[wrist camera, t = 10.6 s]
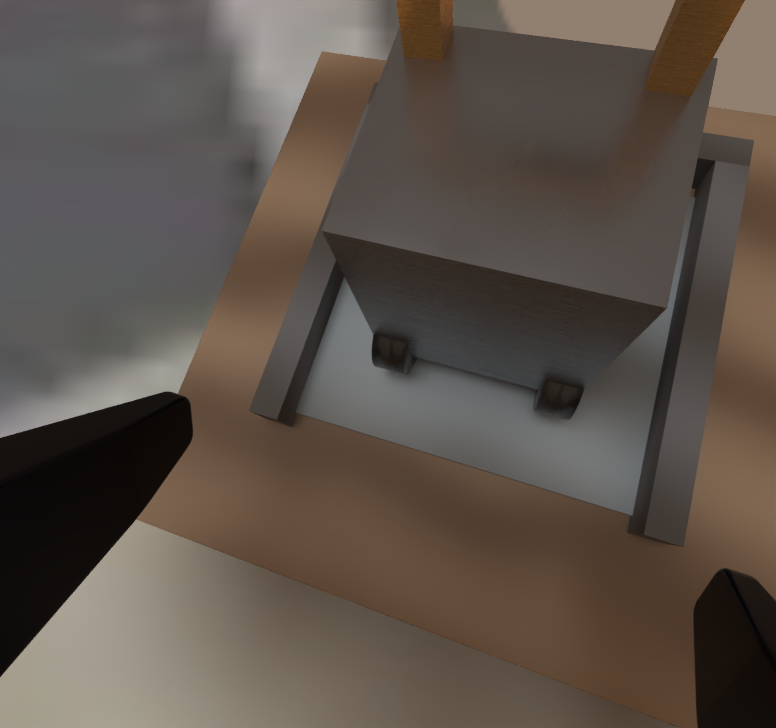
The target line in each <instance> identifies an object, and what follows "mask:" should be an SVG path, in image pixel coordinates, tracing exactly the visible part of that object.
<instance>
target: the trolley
mask: <svg viewBox="0 0 776 728" xmlns="http://www.w3.org/2000/svg"><path fill="white" fill-rule="evenodd" d="M744 1H745V0H676V1H675V3H674V6H673V8H672V10H671V13H670V15H669V17H668V20H667V22H666V25H665V27H664V29H663V32H662V34H661V37H660V39H659V42H658V44H657V46H656V49H655V51H652V50H645V49H637V48H628V47H621V46H613V45H604V44H597V43H588V42H581V41H573V40H565V39H564V40H563V39H557V38H549V37H540V36H533V35H525V34H517V33H509V32H501V31H493V30H485V29H477V28H469V27H461V26H453V0H397V8H398V16H399V24H400V28H399V30H398V33H397V36H396V38H395V41H394V43H393V46H392V49H391V51H390V54H389V56H388V59H387V62H386V64H385V67H384V69H383V72H382V75H381V77H380V80H379V82H378V85H377V88H376V90H375V93H374V95H373V98H372V101H371V103H370V106H369V108H368V111H367V114H366V116H365V119H364V122H363V124H362V127H361V129H360V132H359V135H358V137H357V140H356V142H355V145H354V148H353V150H352V153H351V155H350V158H349V161H348V163H347V166H346V168H345V171H344V174H343V176H342V179H341V181H340V184H339V187H338V189H337V192H336V194H335V197H334V200H333V202H332V205H331V207H330V210H329V213H328V215H327V218H326V220H325V223H324V226H323V228H322V233H323V235H324V237H325V239H326V241H327V243H328V245H329V247H330V249H331V251H332V253H333V255H334V257H335V259H336V261H337V263H338V265H339V267H340V269H341V271H342V273H343V275H344V277H345V279H346V281H347V283H348V285H349V287H350V289H351V291H352V293H353V295H354V297H355V299H356V301H357V303H358V305H359V307H360V309H361V311H362V313H363V315H364V317H365V319H366V321H367V323H368V325H369V327H370V329H371V331H372V333H373V340H372V362H373V365H374V366H375V367H379V368H382V369H386V370H389V371H393V372H397V373H400V374H404V375H407V374H409V372H410V371H411V369H412V367H413V366H414V363H415V361H416V359H417V357H418V358H421V359H425V360H429V361H433V362H436V363H440V364H444V365H447V366H451V367H455V368H459V369H462V370H466V371H470V372H473V373H477V374H481V375H485V376H488V377H492V378H496V379H499V380H503V381H507V382H511V383H514V384H518V385H522V386H525V387H529V388H533V389H536V392H535V398H534V404H533V411H537V412H540V413H544V414H548V415H551V416H555V417H558V418H562V419H566V420H570V419H571V418H572V416H573V415H574V413H575V411H576V409H577V407H578V404H579V402H580V400H581V397H582V394H583V392H584V390H585V389H586V388H587V387H588V386H589V385H590V384H591V383H592V382H593V381H594V380H595V379H596V378H597V377H598V376H599V375H600V374H601V373H602V372H603V371H604V370H605V369H606V368H607V367H608V366H609V365H610V364H611V363H612V362H613V361H614V360H615V359H616V358H617V357H618V356H619V355H620V354H621V353H622V352H623V351H624V350H625V349H626V348H627V347H628V346H629V345H630V344H631V343H632V342H633V341H634V340H635V339H636V338H637V337H638V336H639V335H641V334H642V333H643V332H644V331H645V330H646V329H647V328H648V327H649V326H650V325H651V324H652V323H653V322H654V321H655V320H656V319H657V318H658V317H659V316H660V315H661V314H662V313H663V312H664V311H665V310H666V309H667V307H668V302H669V297H670V292H671V287H672V282H673V277H674V272H675V267H676V262H677V257H678V252H679V247H680V242H681V238H682V233H683V228H684V223H685V218H686V213H687V208H688V203H689V198H690V193H691V188H692V183H693V178H694V174H695V169H696V164H697V159H698V154H699V149H700V144H701V139H702V134H703V129H704V124H705V119H706V114H707V109H708V105H709V100H710V95H711V90H712V85H713V80H714V74H715V70H716V64H717V60H718V59H717V58H713V57H714V55H715V53H716V51H717V50H718V48H719V46H720V44H721V42H722V41H723V39H724V37H725V35H726V33H727V32H728V30H729V28H730V26H731V24H732V23H733V21H734V19H735V17H736V15H737V13H738V12H739V10H740V8H741V6H742V4H743V3H744Z"/></svg>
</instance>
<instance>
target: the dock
mask: <svg viewBox="0 0 776 728" xmlns="http://www.w3.org/2000/svg"><path fill="white" fill-rule="evenodd" d="M386 62H387V61H385V60H378V59H371V58H364V57H357V56H350V55H343V54H336V53H329V52H322V53H321V55H320V57H319V60H318V62H317V64H316V67H315V69H314V72H313V74H312V76H311V79H310V81H309V83H308V86H307V88H306V91H305V93H304V95H303V98H302V100H301V103H300V105H299V107H298V110H297V112H296V114H295V117H294V119H293V122H292V124H291V126H290V129H289V131H288V133H287V136H286V138H285V141H284V143H283V145H282V148H281V150H280V152H279V155H278V157H277V160H276V162H275V164H274V167H273V169H272V171H271V174H270V176H269V179H268V181H267V183H266V186H265V188H264V190H263V193H262V195H261V198H260V200H259V202H258V205H257V207H256V210H255V212H254V214H253V217H252V219H251V221H250V224H249V226H248V229H247V231H246V233H245V236H244V238H243V240H242V243H241V245H240V248H239V250H238V252H237V255H236V257H235V259H234V262H233V264H232V267H231V269H230V271H229V274H228V276H227V278H226V281H225V283H224V286H223V288H222V290H221V293H220V295H219V297H218V300H217V302H216V305H215V307H214V309H213V312H212V314H211V317H210V319H209V321H208V324H207V326H206V328H205V331H204V333H203V336H202V338H201V340H200V343H199V345H198V347H197V350H196V352H195V355H194V357H193V359H192V362H191V364H190V366H189V369H188V371H187V374H186V376H185V378H184V381H183V383H182V385H181V388H180V390H179V393H178V394H179V395H182V396H185V397H187V398H188V399H189V401H190V403H191V412H192V423H193V437H192V441H191V443H190V445H189V447H188V448H187V449H186V451H185V452H184V454H183V455H182V457H181V458H180V459H179V461H178V462H177V464H176V465H175V467H174V468H173V469H172V471H171V472H170V474H169V475H168V477H167V478H166V479H165V481H164V482H163V484H162V485H161V487H160V488H159V489H158V491H157V492H156V494H155V495H154V497H153V498H152V499H151V501H150V502H149V503H148V505H147V506H146V507H145V509H144V510H143V511H142V513H141V514H140V515H139V516H138V518H137V520H140V521H142V522H145V523H147V524H150V525H153V526H155V527H158V528H160V529H163V530H166V531H168V532H171V533H173V534H176V535H179V536H181V537H184V538H187V539H189V540H192V541H194V542H197V543H200V544H202V545H205V546H207V547H210V548H213V549H215V550H218V551H220V552H223V553H226V554H228V555H231V556H234V557H236V558H239V559H241V560H244V561H247V562H249V563H252V564H254V565H257V566H260V567H262V568H265V569H267V570H270V571H273V572H275V573H278V574H280V575H283V576H286V577H288V578H291V579H294V580H296V581H299V582H301V583H304V584H307V585H309V586H312V587H314V588H317V589H320V590H322V591H325V592H327V593H330V594H333V595H335V596H338V597H341V598H343V599H346V600H348V601H351V602H354V603H356V604H359V605H361V606H364V607H367V608H369V609H372V610H374V611H377V612H380V613H382V614H385V615H388V616H390V617H393V618H395V619H398V620H401V621H403V622H406V623H408V624H411V625H414V626H416V627H419V628H421V629H424V630H427V631H429V632H432V633H434V634H437V635H440V636H442V637H445V638H448V639H450V640H453V641H455V642H458V643H461V644H463V645H466V646H468V647H471V648H474V649H476V650H479V651H481V652H484V653H487V654H489V655H492V656H495V657H497V658H500V659H502V660H505V661H508V662H510V663H513V664H515V665H518V666H521V667H523V668H526V669H528V670H531V671H534V672H536V673H539V674H541V675H544V676H547V677H549V678H552V679H555V680H557V681H560V682H562V683H565V684H568V685H570V686H573V687H575V688H578V689H581V690H583V691H586V692H588V693H591V694H594V695H596V696H599V697H602V698H604V699H607V700H609V701H612V702H615V703H617V704H620V705H622V706H625V707H628V708H630V709H633V710H635V711H638V712H641V713H643V714H646V715H649V716H651V717H654V718H656V719H659V720H662V721H664V722H667V723H669V724H672V725H675V726H677V727H680V728H698V727H697V715H696V694H695V662H694V630H693V612H694V607H695V604H696V601H697V600H698V598H699V597H700V595H701V594H702V592H703V591H704V589H705V588H706V586H707V585H708V584H709V582H710V581H711V579H712V578H713V576H714V575H715V573H716V572H717V571H718V570H720V569H722V568H728V569H732V570H735V571H738V572H741V573H744V574H747V575H750V576H752V577H754V578H755V579H757V580H758V581H759V582H760V583H761V585H762V586H763V587H764V588H765V589H766V590H767V591H768V592H769V593H770V595H771V596H772V597H773V598H774V599H775V600H776V116H770V115H763V114H756V113H749V112H742V111H734V110H727V109H721V108H713V107H708V109H707V114H706V119H705V124H704V129H703V134H702V139H701V144H700V149H699V154H698V159H697V164H696V169H695V174H694V178H693V183H692V188H691V193H690V198H689V203H688V208H687V213H686V218H685V223H684V228H683V233H682V238H681V242H680V247H679V252H678V257H677V262H676V267H675V272H674V277H673V282H672V287H671V292H670V297H669V302H668V307H667V309H666V310H665V311H664V312H663V313H662V314H661V315H660V316H659V317H658V318H657V319H656V320H655V321H654V322H653V323H652V324H651V325H650V326H649V327H648V328H647V329H646V330H645V331H644V332H643V333H642V334H641V335H639V336H638V337H637V338H636V339H635V340H634V341H633V342H632V343H631V344H630V345H629V346H628V347H627V348H626V349H625V350H624V351H623V352H622V353H621V354H620V355H619V356H618V357H617V358H616V359H615V360H614V361H613V362H612V363H611V364H610V365H609V366H608V367H607V368H606V369H605V370H604V371H603V372H602V373H601V374H600V375H599V376H598V377H597V378H596V379H595V380H594V381H593V382H592V383H591V384H590V385H589V386H588V387H587V388H586V389H585V390H584V392H583V394H582V397H581V400H580V402H579V404H578V407H577V409H576V411H575V413H574V415H573V416H572V418H571V419H570V420H566V419H562V418H558V417H555V416H551V415H548V414H544V413H540V412H537V411H533V404H534V398H535V392H536V389H533V388H529V387H525V386H522V385H518V384H514V383H511V382H507V381H503V380H499V379H496V378H492V377H488V376H485V375H481V374H477V373H473V372H470V371H466V370H462V369H459V368H455V367H451V366H447V365H444V364H440V363H436V362H433V361H429V360H425V359H421V358H418V357H417V359H416V361H415V363H414V366H413V367H412V369H411V371H410V372H409V374H407V375H404V374H400V373H397V372H393V371H389V370H386V369H382V368H379V367H375V366H374V365H373V362H372V340H373V333H372V331H371V329H370V327H369V325H368V323H367V321H366V319H365V317H364V315H363V313H362V311H361V309H360V307H359V305H358V303H357V301H356V299H355V297H354V295H353V293H352V291H351V289H350V287H349V285H348V283H347V281H346V279H345V277H344V275H343V273H342V271H341V269H340V267H339V265H338V263H337V261H336V259H335V257H334V255H333V253H332V251H331V249H330V247H329V245H328V243H327V241H326V239H325V237H324V235H323V233H322V228H323V226H324V223H325V220H326V218H327V215H328V213H329V210H330V207H331V205H332V202H333V200H334V197H335V194H336V192H337V189H338V187H339V184H340V181H341V179H342V176H343V174H344V171H345V168H346V166H347V163H348V161H349V158H350V155H351V153H352V150H353V148H354V145H355V142H356V140H357V137H358V135H359V132H360V129H361V127H362V124H363V122H364V119H365V116H366V114H367V111H368V108H369V106H370V103H371V101H372V98H373V95H374V93H375V90H376V88H377V85H378V82H379V80H380V77H381V75H382V72H383V69H384V67H385V64H386Z"/></svg>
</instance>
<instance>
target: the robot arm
mask: <svg viewBox="0 0 776 728" xmlns="http://www.w3.org/2000/svg"><path fill="white" fill-rule="evenodd" d="M192 437H193V423H192V412H191V403H190V401H189V399H188V398H187V397H185V396H182V395H179V394H176V393H173V392H162V393H159V394H155V395H152V396H148V397H145V398H141V399H137V400H134V401H130V402H127V403H123V404H120V405H116V406H113V407H109V408H105V409H102V410H98V411H95V412H91V413H88V414H84V415H80V416H77V417H73V418H70V419H66V420H63V421H59V422H56V423H52V424H48V425H45V426H41V427H38V428H34V429H31V430H27V431H23V432H20V433H16V434H13V435H9V436H6V437H2V438H0V677H1V676H2V675H3V673H4V672H5V671H6V670H7V669H8V668H9V666H10V665H11V664H12V663H13V662H14V661H15V659H16V658H17V657H18V656H19V655H20V654H21V652H22V651H23V650H24V649H25V648H26V647H27V646H28V644H29V643H30V642H31V641H32V640H33V639H34V637H35V636H36V635H37V634H38V633H39V632H40V630H41V629H42V628H43V627H44V626H45V625H46V623H47V622H48V621H49V620H50V619H51V618H52V617H53V615H54V614H55V613H56V612H57V611H58V610H59V608H60V607H61V606H62V605H63V604H64V603H65V601H66V600H67V599H68V598H69V597H70V596H71V594H72V593H73V592H74V591H75V590H76V589H77V587H78V586H79V585H80V584H81V583H82V582H83V581H84V579H85V578H86V577H87V576H88V575H89V574H90V572H91V571H92V570H93V569H94V568H95V567H96V565H97V564H98V563H99V562H100V561H101V560H102V558H103V557H104V556H105V555H106V554H107V553H108V551H109V550H110V549H111V548H112V547H113V546H114V545H115V543H116V542H117V541H118V540H119V539H120V538H121V536H122V535H123V534H124V533H125V532H126V531H127V529H128V528H129V527H130V526H131V525H132V524H133V522H134V521H135V520H136V519H137V518H138V516H139V515H140V514H141V513H142V511H143V510H144V509H145V507H146V506H147V505H148V503H149V502H150V501H151V499H152V498H153V497H154V495H155V494H156V492H157V491H158V489H159V488H160V487H161V485H162V484H163V482H164V481H165V479H166V478H167V477H168V475H169V474H170V472H171V471H172V469H173V468H174V467H175V465H176V464H177V462H178V461H179V459H180V458H181V457H182V455H183V454H184V452H185V451H186V449H187V448H188V447H189V445H190V443H191V441H192ZM693 630H694V662H695V694H696V715H697V727H698V728H776V600H775V599H774V598H773V597H772V596H771V595H770V593H769V592H768V591H767V590H766V589H765V588H764V587H763V586H762V585H761V583H760V582H759V581H758V580H757V579H755V578H754V577H752V576H750V575H747V574H744V573H741V572H738V571H735V570H732V569H728V568H722V569H720V570H718V571H717V572H716V573H715V575H714V576H713V578H712V579H711V581H710V582H709V584H708V585H707V586H706V588H705V589H704V591H703V592H702V594H701V595H700V597H699V598H698V600H697V601H696V604H695V607H694V612H693Z"/></svg>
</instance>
